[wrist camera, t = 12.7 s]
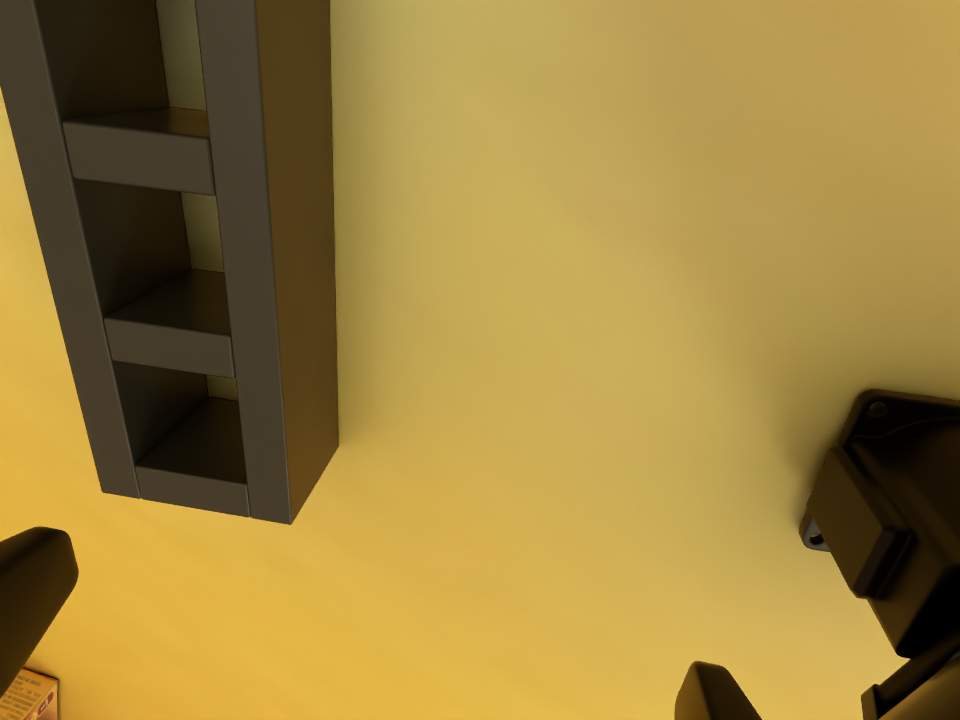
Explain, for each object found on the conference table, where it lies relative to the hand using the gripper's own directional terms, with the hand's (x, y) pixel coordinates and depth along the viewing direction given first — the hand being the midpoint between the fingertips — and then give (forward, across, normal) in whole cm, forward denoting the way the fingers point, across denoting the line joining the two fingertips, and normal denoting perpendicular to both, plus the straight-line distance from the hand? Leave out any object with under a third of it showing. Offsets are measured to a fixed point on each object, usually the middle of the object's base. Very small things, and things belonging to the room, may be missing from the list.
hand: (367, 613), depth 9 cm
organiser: (+13, +8, -1) cm, 15 cm away
